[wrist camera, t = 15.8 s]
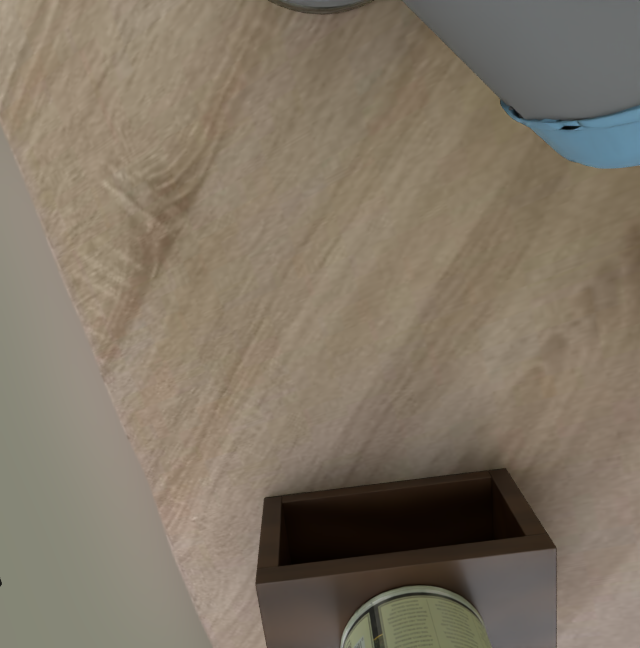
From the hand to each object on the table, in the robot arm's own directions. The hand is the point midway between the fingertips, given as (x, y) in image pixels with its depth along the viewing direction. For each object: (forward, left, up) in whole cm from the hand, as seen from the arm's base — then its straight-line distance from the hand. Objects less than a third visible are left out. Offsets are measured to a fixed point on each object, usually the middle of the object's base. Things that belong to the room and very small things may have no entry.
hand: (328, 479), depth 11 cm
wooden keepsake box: (+18, +22, -33) cm, 43 cm away
